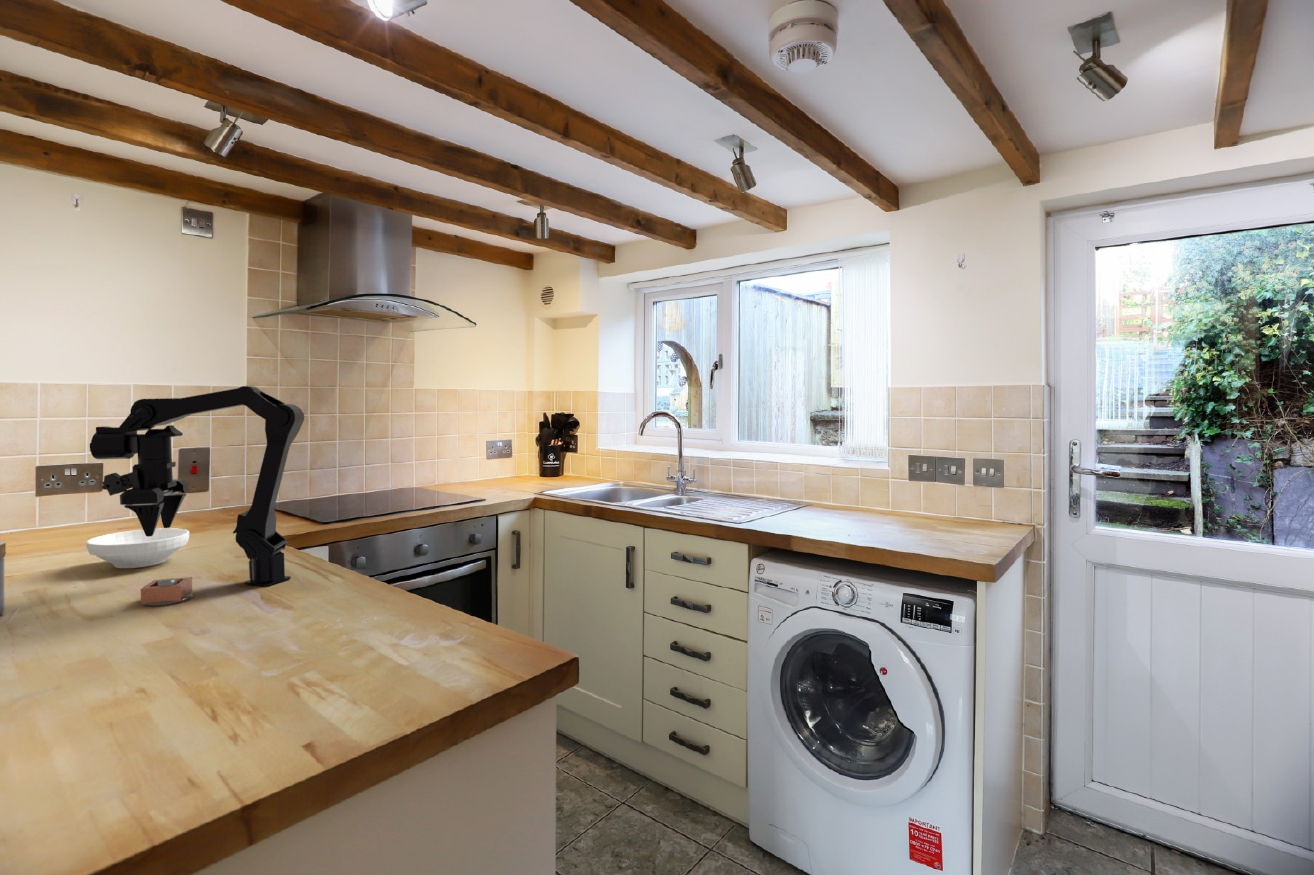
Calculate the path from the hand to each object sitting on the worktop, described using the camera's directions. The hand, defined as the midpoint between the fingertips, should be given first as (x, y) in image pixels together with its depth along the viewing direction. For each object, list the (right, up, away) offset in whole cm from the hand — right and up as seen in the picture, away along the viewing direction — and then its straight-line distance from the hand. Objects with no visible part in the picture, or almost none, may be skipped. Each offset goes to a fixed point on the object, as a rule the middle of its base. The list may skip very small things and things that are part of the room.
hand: (158, 531), depth 139 cm
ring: (+8, -12, -8) cm, 16 cm away
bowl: (-19, -11, +20) cm, 30 cm away
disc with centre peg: (+8, -13, -8) cm, 17 cm away
